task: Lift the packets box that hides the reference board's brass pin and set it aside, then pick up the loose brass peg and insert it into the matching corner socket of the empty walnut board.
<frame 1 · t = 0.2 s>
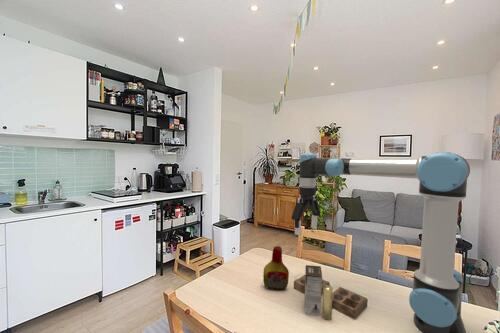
hand: (306, 231, 112), 27 cm above the table, fingers open, 13 cm apart
bottle: (275, 288, 113), on the table
coffee box: (312, 308, 99), on the table
reference board: (311, 289, 113), on the table
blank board: (346, 305, 101), on the table
peg: (326, 317, 93), on the table
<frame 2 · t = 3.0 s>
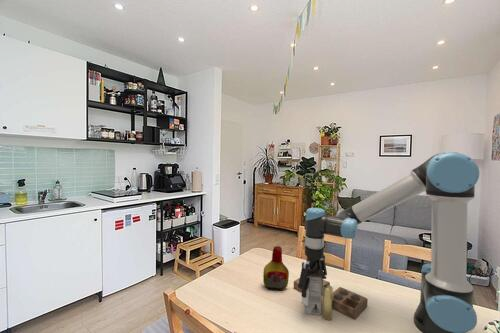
hand: (312, 298, 99), 4 cm above the table, fingers closed on coffee box, 11 cm apart
coffee box: (312, 308, 99), on the table, touching gripper
everything else where it was.
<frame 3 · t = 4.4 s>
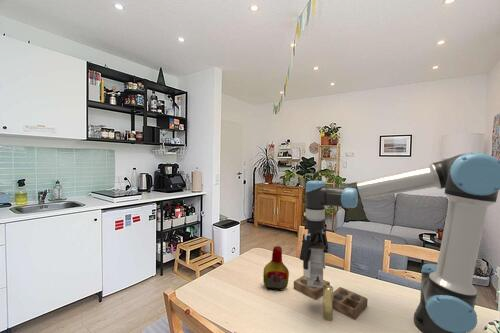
hand: (314, 271, 98), 15 cm above the table, fingers closed on coffee box, 11 cm apart
coffee box: (314, 281, 98), point 11 cm above the table, touching gripper
everything else where it was.
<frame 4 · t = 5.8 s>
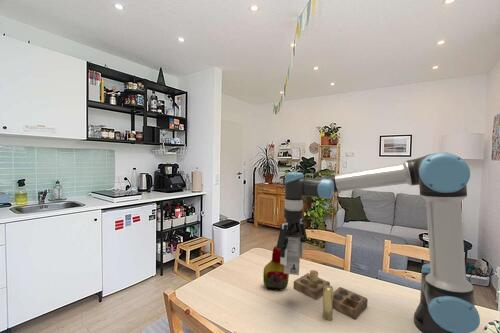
hand: (292, 260, 101), 19 cm above the table, fingers closed on coffee box, 11 cm apart
coffee box: (291, 270, 101), point 14 cm above the table, touching gripper
everything else where it was.
when the fingers open (5 cm above the table, at t = 8.7 s): coffee box stays where it is, on the table.
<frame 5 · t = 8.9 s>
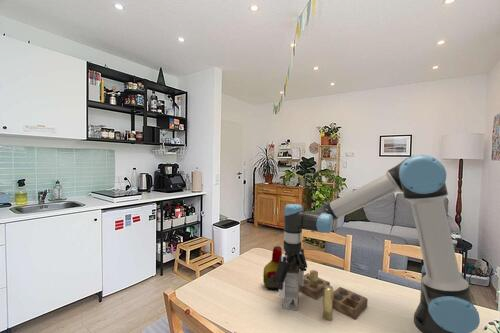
hand: (291, 290, 102), 6 cm above the table, fingers open, 12 cm apart
coffee box: (290, 303, 102), on the table
everything else where it was.
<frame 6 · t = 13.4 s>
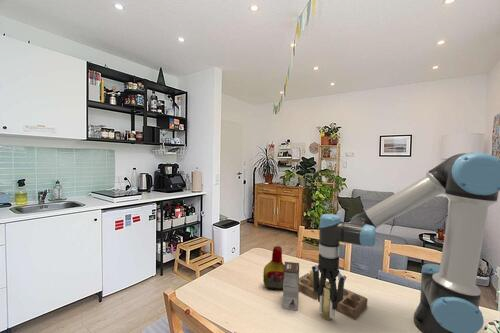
hand: (327, 313, 93), 2 cm above the table, fingers closed on peg, 3 cm apart
peg: (327, 317, 93), on the table, touching gripper
everything else where it was.
when the fingers open (4 cm above the table, at t = 18.4 s): peg drops 1 cm, resting in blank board.
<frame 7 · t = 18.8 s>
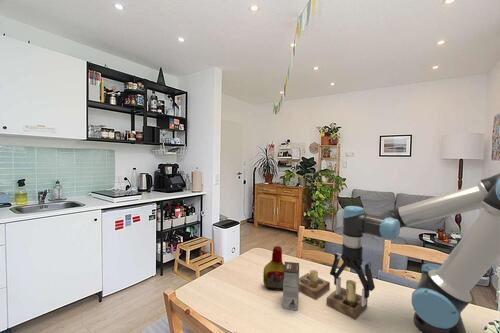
hand: (350, 298, 97), 5 cm above the table, fingers open, 10 cm apart
peg: (350, 311, 97), resting in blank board
everything else where it was.
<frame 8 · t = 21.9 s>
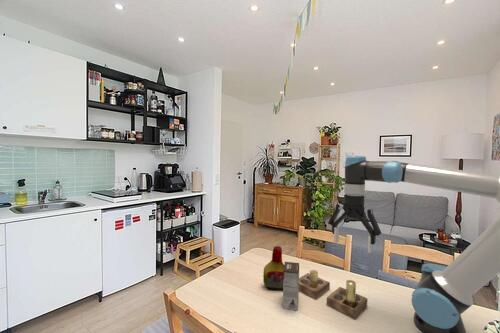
hand: (352, 246, 96), 27 cm above the table, fingers open, 13 cm apart
nothing on the table moved.
at the end: peg 0.1 cm from the target spot on the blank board, point 0.0 cm above the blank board's base; peg tilted 0°; coffee box moved 9.1 cm from its start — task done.
